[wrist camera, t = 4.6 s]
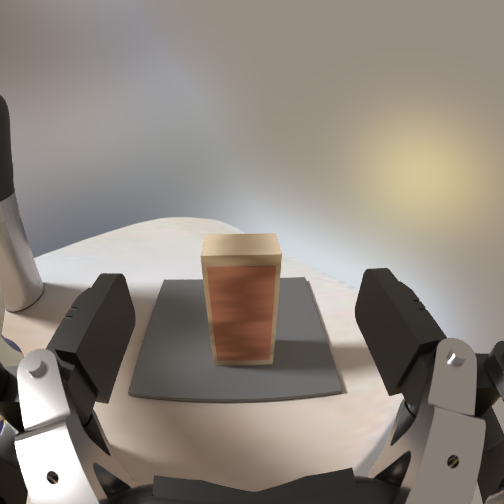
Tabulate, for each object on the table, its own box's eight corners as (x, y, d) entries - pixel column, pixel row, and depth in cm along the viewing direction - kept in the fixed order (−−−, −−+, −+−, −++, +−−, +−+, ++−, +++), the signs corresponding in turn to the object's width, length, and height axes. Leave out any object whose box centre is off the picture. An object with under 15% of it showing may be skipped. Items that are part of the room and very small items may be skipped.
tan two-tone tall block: (214, 366, 27) (200, 256, 20) (215, 340, 30) (205, 234, 24) (272, 365, 27) (281, 255, 21) (269, 339, 30) (275, 233, 24)
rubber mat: (130, 395, 23) (128, 392, 23) (164, 282, 41) (164, 279, 40) (340, 393, 24) (342, 390, 24) (304, 280, 42) (304, 277, 41)
